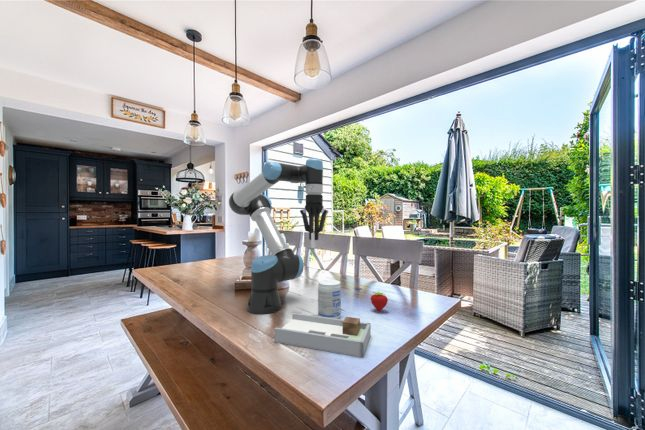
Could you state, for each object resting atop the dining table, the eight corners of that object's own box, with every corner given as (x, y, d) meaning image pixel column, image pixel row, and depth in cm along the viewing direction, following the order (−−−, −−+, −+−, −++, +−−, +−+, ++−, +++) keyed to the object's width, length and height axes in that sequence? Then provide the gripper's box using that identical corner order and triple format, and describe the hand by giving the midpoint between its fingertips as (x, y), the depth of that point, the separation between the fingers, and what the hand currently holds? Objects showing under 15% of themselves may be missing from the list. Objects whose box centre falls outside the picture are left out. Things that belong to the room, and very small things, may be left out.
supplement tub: (337, 322, 107) (337, 285, 107) (314, 319, 110) (314, 283, 110) (343, 314, 116) (343, 280, 116) (322, 311, 119) (322, 278, 119)
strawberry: (386, 315, 115) (386, 291, 115) (368, 312, 118) (368, 289, 118) (389, 310, 120) (389, 288, 120) (372, 308, 124) (372, 286, 123)
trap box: (274, 341, 91) (274, 328, 91) (293, 324, 105) (293, 312, 105) (363, 357, 81) (363, 342, 81) (370, 335, 96) (370, 323, 96)
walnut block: (342, 333, 92) (342, 322, 92) (346, 327, 96) (346, 316, 96) (357, 335, 90) (357, 324, 90) (359, 329, 95) (359, 318, 95)
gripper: (297, 194, 118) (296, 247, 119) (325, 193, 114) (324, 249, 114) (304, 195, 125) (303, 245, 126) (330, 194, 121) (330, 247, 121)
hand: (313, 247), depth 120 cm, fingers closed
